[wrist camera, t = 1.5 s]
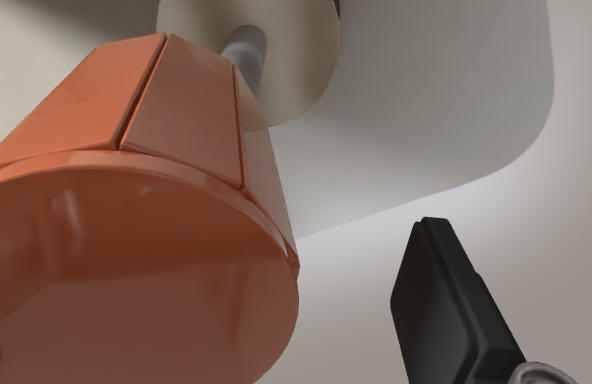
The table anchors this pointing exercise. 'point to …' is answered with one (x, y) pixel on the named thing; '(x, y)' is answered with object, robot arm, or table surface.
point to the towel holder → (265, 45)
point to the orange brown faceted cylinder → (144, 226)
